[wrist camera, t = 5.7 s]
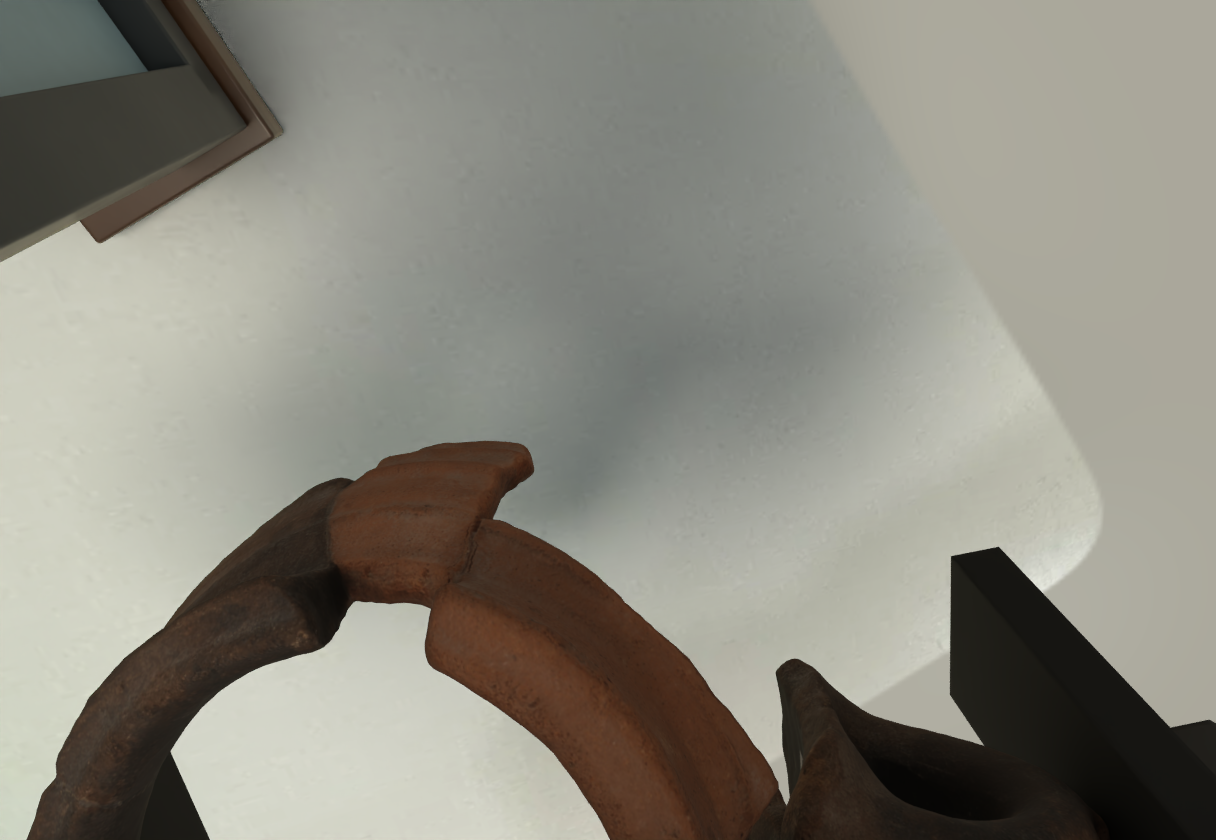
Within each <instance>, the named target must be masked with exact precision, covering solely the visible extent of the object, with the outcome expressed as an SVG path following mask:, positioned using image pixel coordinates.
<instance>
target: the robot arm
mask: <svg viewBox="0 0 1216 840" xmlns="http://www.w3.org/2000/svg"><path fill="white" fill-rule="evenodd" d="M950 695H951V697H952V698H953V700H954V701H955V703H956V704H957V706H958V707H959V709H960V710H961V712H962V713H963V715H964V716H965V717H966V719H967V721H968V722H969V723H970V725H971V727H972V728H973V730H974V731H975V732H976V734H977V736H978V737H979V738H980V740H981V741H982V743H983V744H984V746H986V747H989V748H992V749H995V750H997V751H1000V752H1003V753H1006V754H1009V755H1012V756H1015V757H1017V758H1019V759H1022V760H1024V761H1026V762H1028V763H1031V764H1033V765H1035V766H1038V767H1040V768H1042V769H1043V770H1045V771H1046V772H1048V773H1049V774H1051V775H1053V776H1054V777H1056V778H1057V779H1059V780H1061V781H1062V782H1063V783H1065V784H1066V785H1067V786H1068V787H1070V788H1071V789H1072V790H1073V791H1074V792H1075V793H1076V794H1078V795H1079V796H1080V798H1081V799H1082V800H1083V801H1084V802H1085V803H1086V805H1087V806H1089V807H1090V808H1091V809H1092V810H1093V811H1094V812H1095V813H1096V814H1098V815H1099V816H1100V817H1101V818H1102V819H1103V821H1104V822H1105V824H1106V825H1107V827H1108V829H1109V835H1110V840H1216V723H1214V722H1212V721H1211V720H1205V721H1201V722H1196V723H1191V724H1187V725H1182V726H1177V727H1172V728H1170V727H1169V726H1168V725H1167V724H1166V723H1165V722H1164V721H1163V720H1162V719H1161V718H1160V717H1159V716H1158V714H1157V713H1156V712H1155V711H1154V710H1153V709H1152V708H1151V707H1150V706H1149V705H1148V704H1147V703H1146V702H1145V701H1144V700H1143V698H1142V697H1141V696H1140V695H1139V694H1138V693H1137V692H1136V691H1135V690H1134V689H1133V688H1132V687H1131V686H1130V685H1129V684H1128V683H1127V682H1126V681H1125V679H1124V678H1122V676H1121V675H1120V674H1119V673H1118V672H1117V671H1116V670H1115V669H1114V668H1113V667H1112V666H1111V665H1110V664H1109V663H1108V662H1107V661H1106V659H1105V658H1104V657H1103V656H1102V655H1100V653H1099V652H1098V651H1097V650H1096V649H1095V648H1094V647H1093V646H1092V645H1091V644H1090V643H1089V642H1088V640H1087V639H1085V637H1084V636H1083V635H1082V634H1081V633H1080V632H1079V631H1078V630H1077V629H1076V628H1075V627H1074V626H1073V625H1072V624H1071V623H1070V622H1069V621H1068V620H1067V619H1066V617H1065V616H1064V615H1063V614H1062V613H1061V612H1060V611H1059V610H1058V609H1057V608H1056V607H1055V606H1054V605H1053V604H1052V603H1051V601H1050V600H1049V599H1048V598H1047V597H1046V596H1045V595H1044V594H1043V593H1042V592H1041V591H1040V590H1039V589H1038V588H1037V587H1036V586H1035V585H1034V584H1033V582H1032V581H1031V580H1030V579H1029V578H1028V577H1027V576H1026V575H1025V574H1024V573H1023V572H1022V571H1021V570H1020V569H1019V568H1018V567H1017V566H1016V565H1015V563H1014V562H1013V561H1012V560H1011V559H1010V558H1009V557H1008V556H1007V555H1006V554H1005V553H1004V552H1003V551H1002V550H1001V549H1000V548H999V547H996V548H990V549H985V550H980V551H975V552H970V553H965V554H960V555H955V556H951V628H950ZM140 840H210V839H209V837H208V834H207V832H206V830H205V828H204V826H203V823H202V821H201V819H200V817H199V814H198V812H197V810H196V808H195V806H194V803H193V801H192V799H191V797H190V795H189V792H188V790H187V788H186V786H185V783H184V781H183V779H182V777H181V775H180V772H179V770H178V768H177V766H176V763H175V761H174V759H173V757H172V755H171V752H170V753H169V754H168V756H167V757H166V759H165V760H164V762H163V763H162V766H161V768H160V770H159V773H158V775H157V777H156V780H155V782H154V786H153V790H152V793H151V795H150V798H149V802H148V805H147V808H146V812H145V815H144V820H143V824H142V830H141V835H140Z"/></svg>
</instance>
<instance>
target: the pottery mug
mask: <svg viewBox="0 0 1216 840" xmlns="http://www.w3.org/2000/svg"><path fill="white" fill-rule="evenodd" d="M533 473H534V465H533V461H532V457H531V454H530V452H529V450H528V449H527V448H526V447H525V446H524V445H522V444H519V443H512V442H500V441H477V442H462V443H442V444H437V445H433V446H429V447H425V448H422V449H420V450H419V451H416V452H411V453H406V454H400V455H394V456H389V457H387V458H385V459H383V460H381V461H380V463H379V464H378V466H377V467H376V468H375V469H372V470H370V471H368V472H366V473H365V474H364V475H363V476H361V477H360V478H359V479H357V480H356V481H353V480H350V479H347V478H336V479H332V480H329V481H326V482H324V483H321V484H319V485H316V486H314V487H313V488H311V489H310V490H308V491H307V492H305V493H304V494H303V495H302V496H301V497H299V498H298V499H297V500H295V501H294V502H293V503H292V504H290V505H289V506H287V507H285V508H284V509H283V510H281V511H280V512H279V513H278V514H277V515H275V516H274V517H273V518H271V519H270V520H269V521H267V522H266V523H265V524H263V525H262V526H261V527H260V528H259V529H258V530H257V531H256V532H255V533H254V534H253V535H252V536H251V537H249V538H248V539H247V540H245V541H244V542H243V543H242V544H241V545H240V546H238V547H237V548H236V549H235V550H234V551H233V552H232V553H230V554H229V555H228V556H227V557H226V558H224V559H223V560H222V561H221V562H220V564H219V565H218V566H217V567H216V568H215V569H214V570H213V571H212V572H211V573H210V574H209V575H207V576H206V577H205V578H204V579H203V580H202V582H201V583H200V584H199V585H198V586H197V587H196V588H195V589H194V590H193V591H192V592H191V594H190V595H189V596H188V597H187V599H186V600H185V601H184V602H183V604H182V605H181V606H180V607H179V608H178V609H177V611H176V612H175V613H174V615H173V616H172V618H171V619H170V620H169V621H168V623H167V624H166V626H165V627H164V628H163V629H162V630H160V631H159V632H157V633H156V634H155V635H153V636H152V637H151V638H150V639H148V640H147V641H146V642H145V643H143V644H142V645H141V646H140V647H138V648H137V649H136V650H134V651H133V652H132V653H130V654H129V655H128V656H127V657H125V658H124V659H123V661H122V662H121V663H120V664H119V665H118V666H117V667H116V668H115V669H114V670H113V671H112V672H111V674H110V675H109V676H108V677H107V678H106V679H105V680H104V682H103V683H102V684H101V686H100V687H99V688H98V689H97V690H96V691H95V692H94V693H93V694H92V695H91V696H90V697H89V699H88V700H87V703H86V705H85V707H84V709H83V710H82V712H81V714H80V716H79V717H78V719H77V720H76V722H75V724H74V726H73V728H72V730H71V732H70V734H69V736H68V737H67V739H66V741H65V743H64V745H63V747H62V749H61V751H60V752H59V754H58V757H57V761H56V773H57V775H56V778H55V779H54V781H53V782H52V783H51V784H50V785H49V786H48V787H47V788H46V790H45V791H44V792H43V794H42V796H41V799H40V802H39V805H38V808H37V812H36V817H35V820H34V822H33V825H32V827H31V830H30V832H29V835H28V837H27V840H140V835H141V830H142V824H143V820H144V815H145V812H146V808H147V805H148V802H149V798H150V795H151V793H152V790H153V786H154V782H155V780H156V777H157V775H158V773H159V770H160V768H161V766H162V763H163V762H164V760H165V759H166V757H167V756H168V754H169V753H170V751H171V749H172V748H173V746H174V744H175V743H176V741H177V740H178V738H179V737H180V735H181V734H182V732H183V731H184V729H185V728H186V726H187V725H188V724H189V723H190V721H191V720H192V719H193V718H194V716H195V715H196V714H197V713H198V712H199V710H200V709H201V708H202V707H203V706H204V705H205V704H206V703H207V702H208V701H210V700H211V699H212V698H213V697H214V696H215V695H216V694H217V693H218V692H219V691H221V690H222V689H224V688H225V687H227V686H228V685H229V684H231V683H232V682H234V681H235V680H237V679H239V678H241V677H243V676H244V675H246V674H247V673H249V672H251V671H253V670H255V669H258V668H260V667H262V666H265V665H268V664H271V663H274V662H278V661H281V660H285V659H288V658H291V657H294V656H297V655H301V654H307V653H311V652H314V651H316V650H319V649H321V648H323V647H324V646H325V645H327V644H328V643H329V642H330V641H331V640H332V638H333V636H334V635H335V632H337V631H338V629H339V627H340V623H341V621H342V619H343V618H344V617H345V616H346V612H347V610H348V608H349V607H350V606H351V605H352V603H353V602H355V601H361V602H374V603H387V604H394V603H412V604H420V605H423V606H426V607H428V608H431V612H430V616H429V623H428V629H427V634H426V639H425V654H426V658H427V661H428V663H429V665H430V666H431V667H432V668H434V669H435V670H437V671H439V672H441V673H443V674H445V675H447V676H449V677H451V678H452V679H454V680H456V681H457V682H459V683H461V684H462V685H464V686H465V687H467V688H468V689H470V690H471V691H473V692H474V693H475V694H477V695H479V696H480V697H482V698H483V699H485V700H487V701H488V702H490V703H491V704H493V705H494V706H496V707H497V708H499V709H500V710H501V711H503V712H504V713H505V714H507V715H508V716H509V717H511V718H512V719H513V720H515V721H516V722H517V723H519V724H520V725H522V726H523V727H524V728H526V729H527V730H528V731H529V732H530V733H532V734H533V735H534V736H535V737H536V738H538V739H539V740H540V741H541V742H542V743H543V744H544V745H546V746H547V747H548V748H549V749H550V750H551V751H552V752H553V753H554V755H555V756H556V757H557V759H558V760H559V761H560V763H561V764H562V765H563V767H564V768H565V769H566V770H567V772H568V773H569V774H570V776H571V777H572V778H573V780H574V781H575V782H576V784H577V785H578V787H579V789H580V790H581V792H582V793H583V795H584V796H585V798H586V799H587V801H588V803H589V804H590V805H591V806H592V808H593V809H594V811H595V812H596V813H597V815H598V817H599V819H600V821H601V822H602V824H603V826H604V828H605V830H606V832H607V835H608V837H609V839H610V840H1110V835H1109V829H1108V827H1107V825H1106V824H1105V822H1104V821H1103V819H1102V818H1101V817H1100V816H1099V815H1098V814H1096V813H1095V812H1094V811H1093V810H1092V809H1091V808H1090V807H1089V806H1087V805H1086V803H1085V802H1084V801H1083V800H1082V799H1081V798H1080V796H1079V795H1078V794H1076V793H1075V792H1074V791H1073V790H1072V789H1071V788H1070V787H1068V786H1067V785H1066V784H1065V783H1063V782H1062V781H1061V780H1059V779H1057V778H1056V777H1054V776H1053V775H1051V774H1049V773H1048V772H1046V771H1045V770H1043V769H1042V768H1040V767H1038V766H1035V765H1033V764H1031V763H1028V762H1026V761H1024V760H1022V759H1019V758H1017V757H1015V756H1012V755H1009V754H1006V753H1003V752H1000V751H997V750H995V749H992V748H989V747H986V746H983V745H979V744H976V743H973V742H970V741H966V740H962V739H958V738H954V737H951V736H948V735H944V734H940V733H936V732H932V731H929V730H925V729H921V728H915V727H910V726H906V725H903V724H899V723H896V722H892V721H889V720H885V719H882V718H879V717H876V716H873V715H871V714H869V713H867V712H865V711H864V710H862V709H860V708H859V707H858V706H856V705H855V704H853V703H852V702H851V701H849V700H848V699H846V698H845V697H844V696H843V695H842V694H841V693H839V692H838V691H837V690H836V689H834V688H833V687H832V686H831V685H830V684H829V683H828V682H827V681H826V680H825V679H824V678H823V677H822V675H821V674H820V673H819V672H818V671H817V670H816V669H814V668H813V667H812V666H810V665H808V664H806V663H804V662H803V661H801V660H799V659H790V660H788V661H786V662H785V663H784V664H782V665H781V666H780V667H779V668H778V669H777V671H776V677H777V682H778V687H779V692H780V699H781V705H782V714H783V719H782V745H783V752H784V757H785V761H786V766H787V773H788V784H789V793H790V799H789V802H788V804H787V805H786V804H785V802H784V800H783V797H782V794H781V792H780V790H779V786H778V781H777V780H776V778H775V776H774V773H773V771H772V769H771V767H770V765H769V764H768V762H767V761H766V759H765V757H764V756H763V754H762V753H761V752H760V751H759V750H758V749H757V748H756V747H755V746H754V744H753V743H752V741H751V740H750V738H749V737H748V735H747V733H746V732H745V731H744V729H743V728H742V727H741V725H740V724H739V723H738V722H737V720H736V719H735V718H734V716H733V715H732V713H731V712H730V711H729V709H728V708H727V707H726V706H725V705H723V704H722V703H721V702H720V701H719V700H718V698H717V697H716V696H715V695H714V694H713V692H712V691H711V689H710V688H709V686H708V684H707V683H706V681H705V679H704V678H703V677H702V676H701V674H700V673H699V672H698V670H697V669H696V668H695V666H694V665H693V663H692V662H691V661H690V659H689V658H688V657H687V656H686V655H684V654H683V653H682V652H681V651H680V650H679V649H678V648H677V647H676V646H675V645H674V644H672V643H671V642H670V641H669V640H667V639H666V638H665V637H664V636H663V635H661V634H660V633H659V632H658V631H656V630H655V629H654V628H653V627H652V626H651V625H650V624H649V623H648V622H647V621H645V620H644V618H643V617H642V616H641V615H639V614H638V613H637V612H635V611H634V610H633V609H632V608H631V607H630V606H629V605H628V604H626V603H625V602H624V601H623V599H622V598H621V597H620V596H619V595H618V594H617V593H616V592H615V591H614V590H613V589H611V588H610V587H609V586H608V585H607V584H606V583H605V582H603V581H602V580H601V579H600V578H599V577H598V576H597V575H596V574H595V573H593V572H592V571H591V570H589V569H588V568H587V567H585V566H584V565H582V564H581V563H579V562H578V561H576V560H575V559H573V558H572V557H570V556H569V555H568V554H566V553H565V552H563V551H561V550H560V549H558V548H556V547H554V546H552V545H551V544H549V543H547V542H545V541H543V540H541V539H539V538H537V537H535V536H533V535H532V534H530V533H528V532H526V531H524V530H521V529H518V528H516V527H514V526H512V525H510V524H508V523H506V522H503V521H501V520H493V517H494V515H495V513H496V510H497V508H498V505H499V502H500V500H501V498H503V497H504V495H505V494H506V493H507V492H509V491H510V490H512V489H514V488H515V487H516V486H517V485H518V484H519V483H520V482H523V481H525V480H526V479H527V478H529V477H530V476H531V475H532V474H533Z"/></svg>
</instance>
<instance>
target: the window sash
mask: <svg viewBox="0 0 1216 840" xmlns="http://www.w3.org/2000/svg"><path fill="white" fill-rule="evenodd" d="M246 127H247V126H246V123H245V122H244V120H243V119H242V117H241V116H240V115H239V113H238V112H237V110H236V109H235V107H234V106H233V104H232V103H231V101H230V100H229V99H228V97H227V96H226V94H225V93H224V91H223V90H222V88H221V87H220V85H219V84H218V83H217V81H216V80H215V78H214V77H213V75H212V74H211V72H210V71H209V69H208V68H207V67H206V65H205V64H204V62H203V61H202V59H201V58H200V56H199V55H198V54H197V52H196V51H195V49H194V48H193V46H192V45H191V43H190V42H189V41H188V39H187V38H186V36H185V35H184V33H183V32H182V30H181V29H180V27H179V26H178V25H177V23H176V22H175V20H174V19H173V17H172V16H171V14H170V13H169V11H168V10H167V9H166V7H165V6H164V4H163V3H162V1H161V0H0V262H2V261H4V260H5V259H7V258H9V257H11V256H13V255H15V254H17V253H19V252H21V251H23V250H25V249H26V248H28V247H30V246H32V245H34V244H36V243H38V242H40V241H42V240H44V239H46V238H48V237H49V236H51V235H53V234H55V233H57V232H59V231H61V230H63V229H65V228H67V227H69V226H71V225H72V224H74V223H76V222H78V221H80V220H82V219H84V218H86V217H88V216H90V215H92V214H94V213H95V212H97V211H99V210H101V209H103V208H105V207H107V206H109V205H111V204H113V203H115V202H117V201H118V200H120V199H122V198H124V197H126V196H128V195H130V194H132V193H134V192H136V191H138V190H140V189H141V188H143V187H145V186H147V185H149V184H151V183H153V182H155V181H157V180H159V179H161V178H162V177H164V176H166V175H168V174H170V173H172V172H174V171H176V170H178V169H179V168H181V167H183V166H184V165H186V164H188V163H189V162H191V161H193V160H194V159H196V158H198V157H199V156H201V155H203V154H204V153H206V152H207V151H209V150H211V149H212V148H214V147H216V146H217V145H219V144H221V143H222V142H224V141H226V140H227V139H229V138H231V137H232V136H234V135H236V134H237V133H239V132H241V131H242V130H244V129H245V128H246Z"/></svg>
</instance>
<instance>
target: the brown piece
mask: <svg viewBox="0 0 1216 840" xmlns="http://www.w3.org/2000/svg"><path fill="white" fill-rule="evenodd" d="M161 1H162V3H163V4H164V6H165V7H166V9H167V10H168V11H169V13H170V14H171V16H172V17H173V19H174V20H175V22H176V23H177V25H178V26H179V27H180V29H181V30H182V32H183V33H184V35H185V36H186V38H187V39H188V41H189V42H190V43H191V45H192V46H193V48H194V49H195V51H196V52H197V54H198V55H199V56H200V58H201V59H202V61H203V62H204V64H205V65H206V67H207V68H208V69H209V71H210V72H211V74H212V75H213V77H214V78H215V80H216V81H217V83H218V84H219V85H220V87H221V88H222V90H223V91H224V93H225V94H226V96H227V97H228V99H229V100H230V101H231V103H232V104H233V106H234V107H235V109H236V110H237V112H238V113H239V115H240V116H241V117H242V119H243V120H244V122H245V123H246V126H247V127H246V128H245V129H244V130H242V131H241V132H239V133H237V134H236V135H234V136H232V137H231V138H229V139H227V140H226V141H224V142H222V143H221V144H219V145H217V146H216V147H214V148H212V149H211V150H209V151H207V152H206V153H204V154H203V155H201V156H199V157H198V158H196V159H194V160H193V161H191V162H189V163H188V164H186V165H184V166H183V167H181V168H179V169H178V170H176V171H174V172H172V173H170V174H168V175H166V176H164V177H162V178H161V179H159V180H157V181H155V182H153V183H151V184H149V185H147V186H145V187H143V188H141V189H140V190H138V191H136V192H134V193H132V194H130V195H128V196H126V197H124V198H122V199H120V200H118V201H117V202H115V203H113V204H111V205H109V206H107V207H105V208H103V209H101V210H99V211H97V212H95V213H94V214H92V215H90V216H88V217H86V218H84V219H82V220H80V222H81V223H82V225H83V226H84V227H85V228H86V230H87V231H88V232H89V233H90V235H91V236H92V237H93V238H94V240H95V241H96V242H98V243H103V242H104V241H106V240H108V239H109V238H111V237H113V236H114V235H116V234H118V233H119V232H121V231H123V230H124V229H126V228H128V227H129V226H131V225H133V224H134V223H136V222H138V221H139V220H141V219H143V218H144V217H146V216H148V215H149V214H151V213H153V212H154V211H156V210H158V209H159V208H161V207H163V206H164V205H166V204H168V203H169V202H171V201H173V200H174V199H176V198H178V197H179V196H181V195H182V194H184V193H186V192H187V191H189V190H191V189H192V188H194V187H196V186H197V185H199V184H201V183H202V182H204V181H206V180H207V179H209V178H211V177H212V176H214V175H216V174H217V173H219V172H221V171H222V170H224V169H226V168H227V167H229V166H231V165H232V164H234V163H236V162H237V161H239V160H241V159H242V158H244V157H246V156H247V155H249V154H251V153H252V152H254V151H256V150H257V149H259V148H261V147H262V146H264V145H266V144H267V143H269V142H271V141H272V140H274V139H275V138H277V137H279V136H280V135H282V133H283V130H282V128H281V127H280V125H279V124H278V122H277V121H276V119H275V118H274V116H273V115H272V113H271V112H270V110H269V109H268V107H267V106H266V104H265V103H264V101H263V100H262V98H261V97H260V95H259V94H258V92H257V91H256V89H255V88H254V86H253V85H252V83H251V82H250V80H249V79H248V78H247V76H246V75H245V73H244V72H243V70H242V69H241V67H240V66H239V64H238V63H237V61H236V60H235V58H234V57H233V55H232V54H231V52H230V51H229V49H228V48H227V46H226V45H225V43H224V42H223V40H222V39H221V37H220V36H219V34H218V33H217V31H216V30H215V28H214V27H213V26H212V24H211V23H210V21H209V20H208V18H207V17H206V15H205V14H204V12H203V11H202V9H201V8H200V6H199V5H198V3H197V2H196V0H161Z"/></svg>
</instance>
